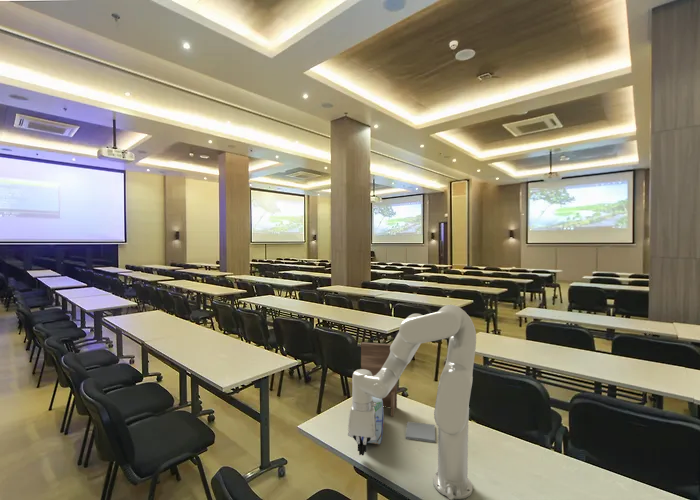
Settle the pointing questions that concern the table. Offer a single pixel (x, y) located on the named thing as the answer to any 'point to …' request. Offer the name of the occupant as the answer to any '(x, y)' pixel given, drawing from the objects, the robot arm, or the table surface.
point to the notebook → (420, 432)
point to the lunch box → (378, 420)
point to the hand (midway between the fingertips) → (361, 453)
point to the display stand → (378, 367)
